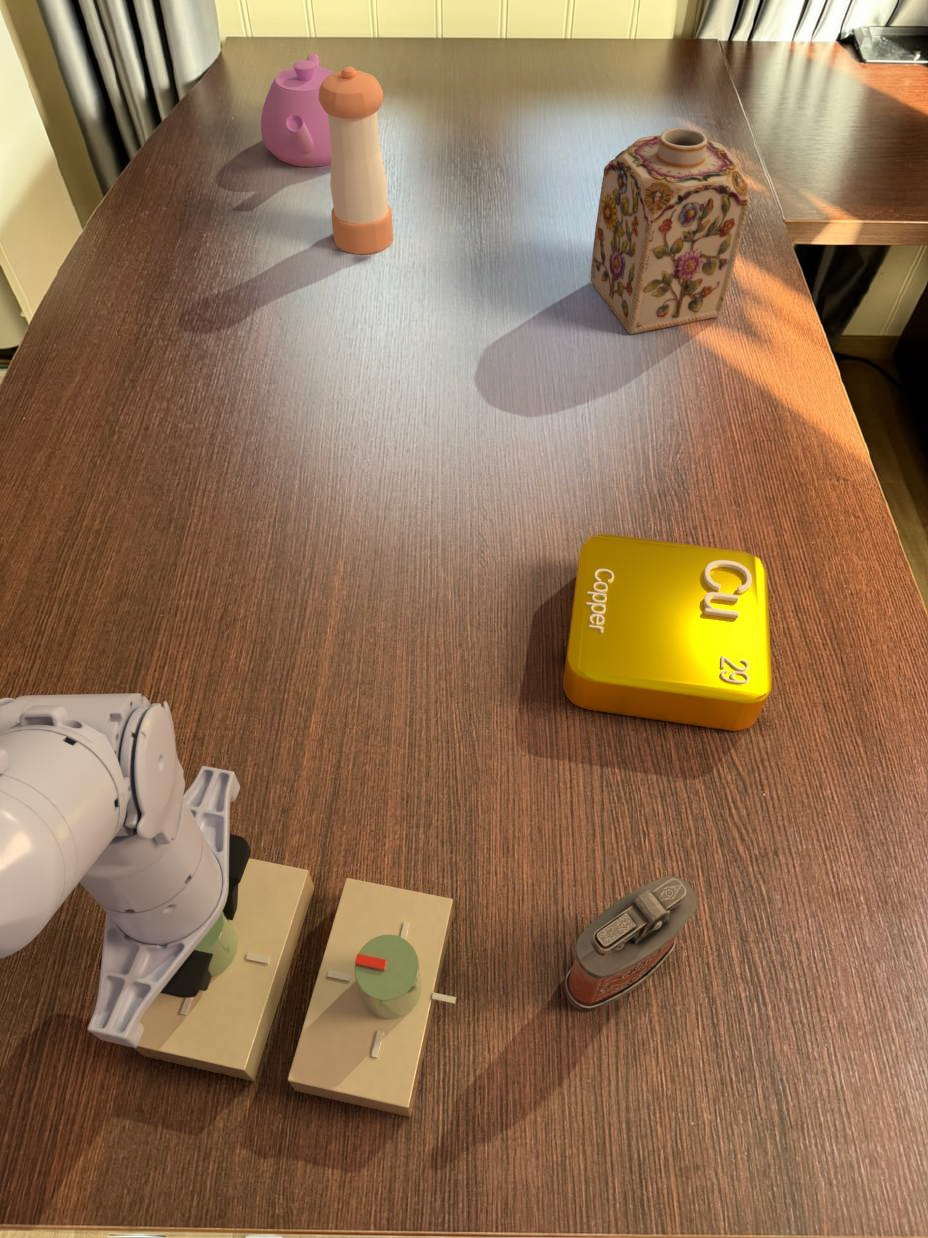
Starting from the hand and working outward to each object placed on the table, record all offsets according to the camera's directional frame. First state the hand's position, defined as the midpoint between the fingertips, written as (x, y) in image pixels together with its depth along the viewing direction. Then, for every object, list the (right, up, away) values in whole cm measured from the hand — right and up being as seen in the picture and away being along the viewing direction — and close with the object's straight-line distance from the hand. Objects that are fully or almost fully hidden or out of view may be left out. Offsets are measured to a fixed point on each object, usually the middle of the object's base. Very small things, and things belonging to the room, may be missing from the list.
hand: (206, 945), depth 54 cm
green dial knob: (0, 0, 0) cm, 0 cm away
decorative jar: (+37, +56, +48) cm, 83 cm away
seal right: (+11, -2, -1) cm, 12 cm away
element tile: (+32, +18, +18) cm, 41 cm away
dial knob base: (+10, -4, +1) cm, 11 cm away
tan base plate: (+1, -2, +3) cm, 4 cm away
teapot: (-5, +85, +70) cm, 110 cm away
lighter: (+26, -2, +3) cm, 26 cm away
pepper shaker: (+3, +67, +56) cm, 87 cm away
